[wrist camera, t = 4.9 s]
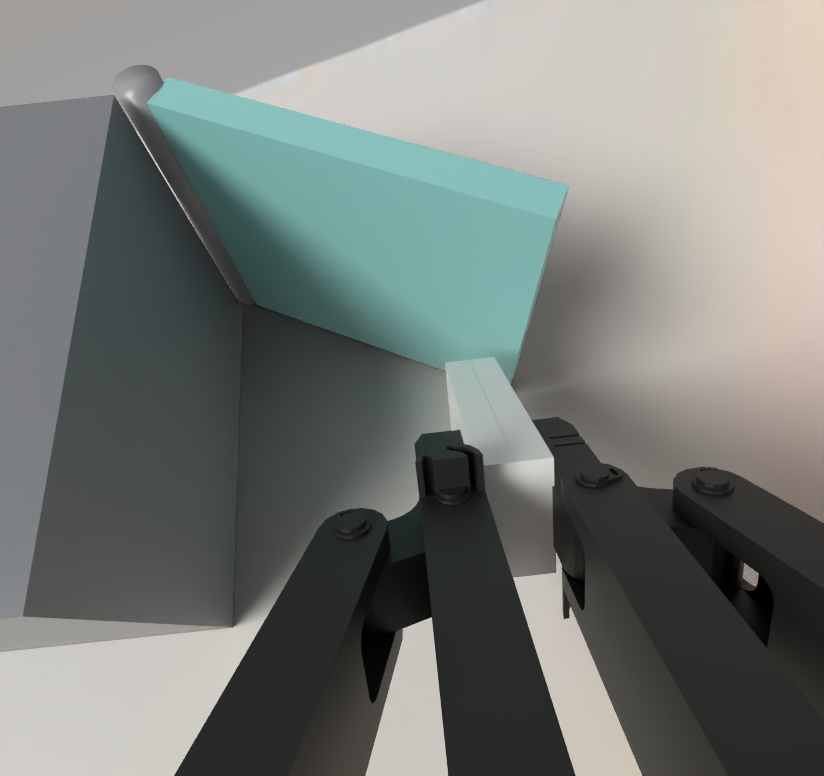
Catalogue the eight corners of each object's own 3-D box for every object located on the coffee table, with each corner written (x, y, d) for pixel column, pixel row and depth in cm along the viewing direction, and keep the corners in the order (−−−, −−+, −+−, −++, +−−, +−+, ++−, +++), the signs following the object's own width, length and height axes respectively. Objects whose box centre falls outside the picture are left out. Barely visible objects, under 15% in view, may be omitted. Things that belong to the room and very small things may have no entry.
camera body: (244, 270, 24) (106, 10, 14) (232, 627, 18) (-15, 614, 8) (33, 292, 24) (-253, 48, 14) (-45, 656, 18) (-622, 678, 8)
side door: (231, 299, 23) (103, 91, 14) (255, 259, 24) (149, 39, 15) (506, 396, 21) (555, 219, 12) (523, 349, 22) (582, 150, 13)
